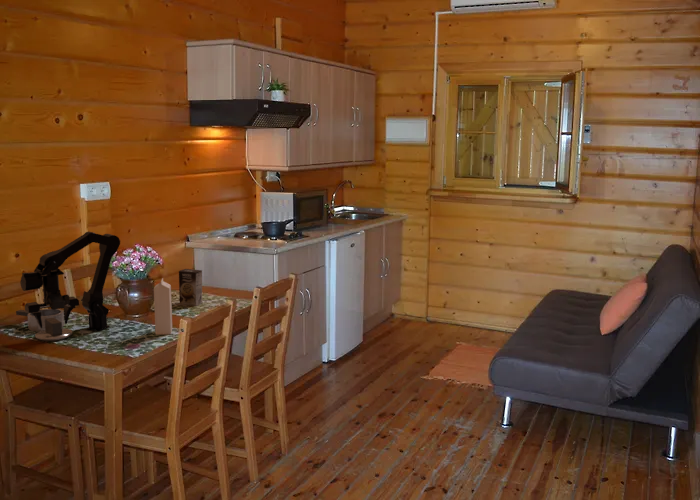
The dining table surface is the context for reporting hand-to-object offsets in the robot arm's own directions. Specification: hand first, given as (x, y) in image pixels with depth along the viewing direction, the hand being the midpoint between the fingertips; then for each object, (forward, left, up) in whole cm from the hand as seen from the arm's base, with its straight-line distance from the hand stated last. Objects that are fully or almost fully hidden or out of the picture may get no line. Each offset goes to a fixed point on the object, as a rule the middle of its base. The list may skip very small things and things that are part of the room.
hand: (53, 325), depth 264 cm
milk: (-36, -21, -5) cm, 42 cm away
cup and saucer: (0, 0, -5) cm, 5 cm away
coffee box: (-21, -65, -5) cm, 68 cm away
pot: (+17, -10, -5) cm, 20 cm away
